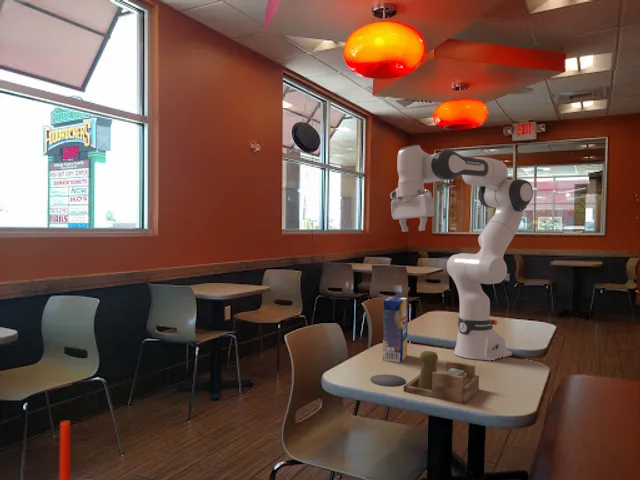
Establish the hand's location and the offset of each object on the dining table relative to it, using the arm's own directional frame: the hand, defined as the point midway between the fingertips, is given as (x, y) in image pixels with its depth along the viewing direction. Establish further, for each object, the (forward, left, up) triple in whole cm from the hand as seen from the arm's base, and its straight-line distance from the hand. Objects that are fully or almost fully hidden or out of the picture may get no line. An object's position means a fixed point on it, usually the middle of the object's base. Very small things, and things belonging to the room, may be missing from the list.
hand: (413, 231), depth 170 cm
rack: (+8, +25, -47) cm, 54 cm away
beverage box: (-2, -11, -48) cm, 49 cm away
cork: (+10, +21, -48) cm, 53 cm away
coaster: (+17, +10, -47) cm, 51 cm away
